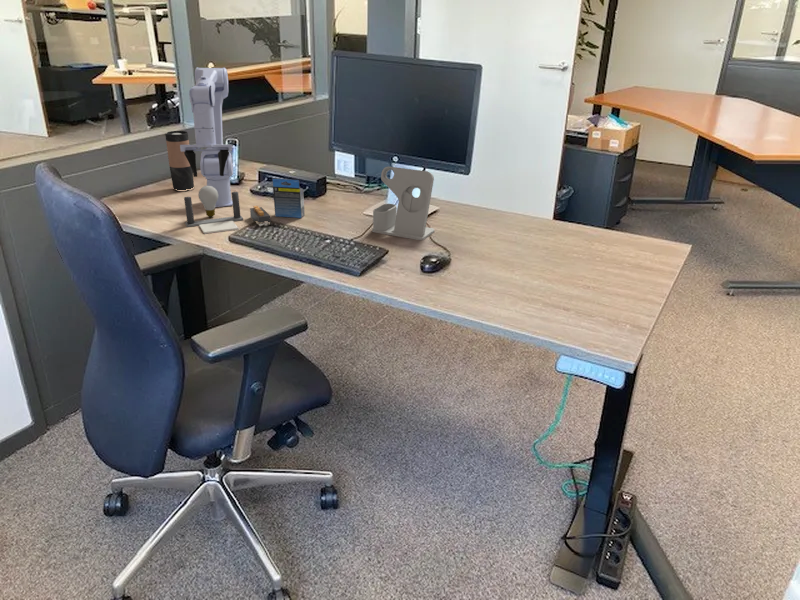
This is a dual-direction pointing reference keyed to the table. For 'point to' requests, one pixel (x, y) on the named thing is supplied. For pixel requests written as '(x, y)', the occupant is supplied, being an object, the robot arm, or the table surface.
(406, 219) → the phone holder
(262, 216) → the terminal block
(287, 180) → the blue retail box
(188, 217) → the cable posts
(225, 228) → the mat
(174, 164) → the travel mug
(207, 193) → the light bulb
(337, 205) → the table surface
